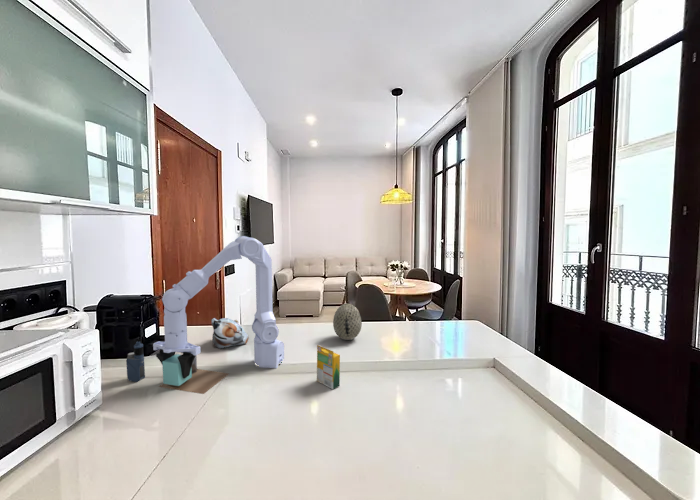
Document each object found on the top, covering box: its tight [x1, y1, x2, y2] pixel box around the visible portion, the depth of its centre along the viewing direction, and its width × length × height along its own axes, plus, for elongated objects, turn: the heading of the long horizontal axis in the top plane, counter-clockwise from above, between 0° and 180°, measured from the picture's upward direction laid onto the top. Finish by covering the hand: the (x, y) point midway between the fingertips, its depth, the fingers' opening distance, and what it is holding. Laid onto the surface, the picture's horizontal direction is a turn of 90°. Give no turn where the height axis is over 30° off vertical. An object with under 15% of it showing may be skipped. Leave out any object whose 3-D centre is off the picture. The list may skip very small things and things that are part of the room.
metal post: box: [191, 356, 198, 374], centre depth 101 cm, size 3×3×6 cm
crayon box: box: [316, 344, 341, 390], centre depth 97 cm, size 7×3×12 cm, turn 47°
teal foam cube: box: [161, 353, 192, 386], centre depth 94 cm, size 5×5×7 cm
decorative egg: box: [332, 303, 363, 341], centre depth 132 cm, size 12×12×15 cm
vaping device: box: [125, 341, 146, 383], centre depth 97 cm, size 3×5×12 cm, turn 78°
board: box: [157, 368, 230, 395], centre depth 96 cm, size 15×12×1 cm
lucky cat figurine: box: [210, 317, 250, 349], centre depth 124 cm, size 15×12×14 cm
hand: (177, 375), depth 94 cm, fingers closed on teal foam cube, 5 cm apart
